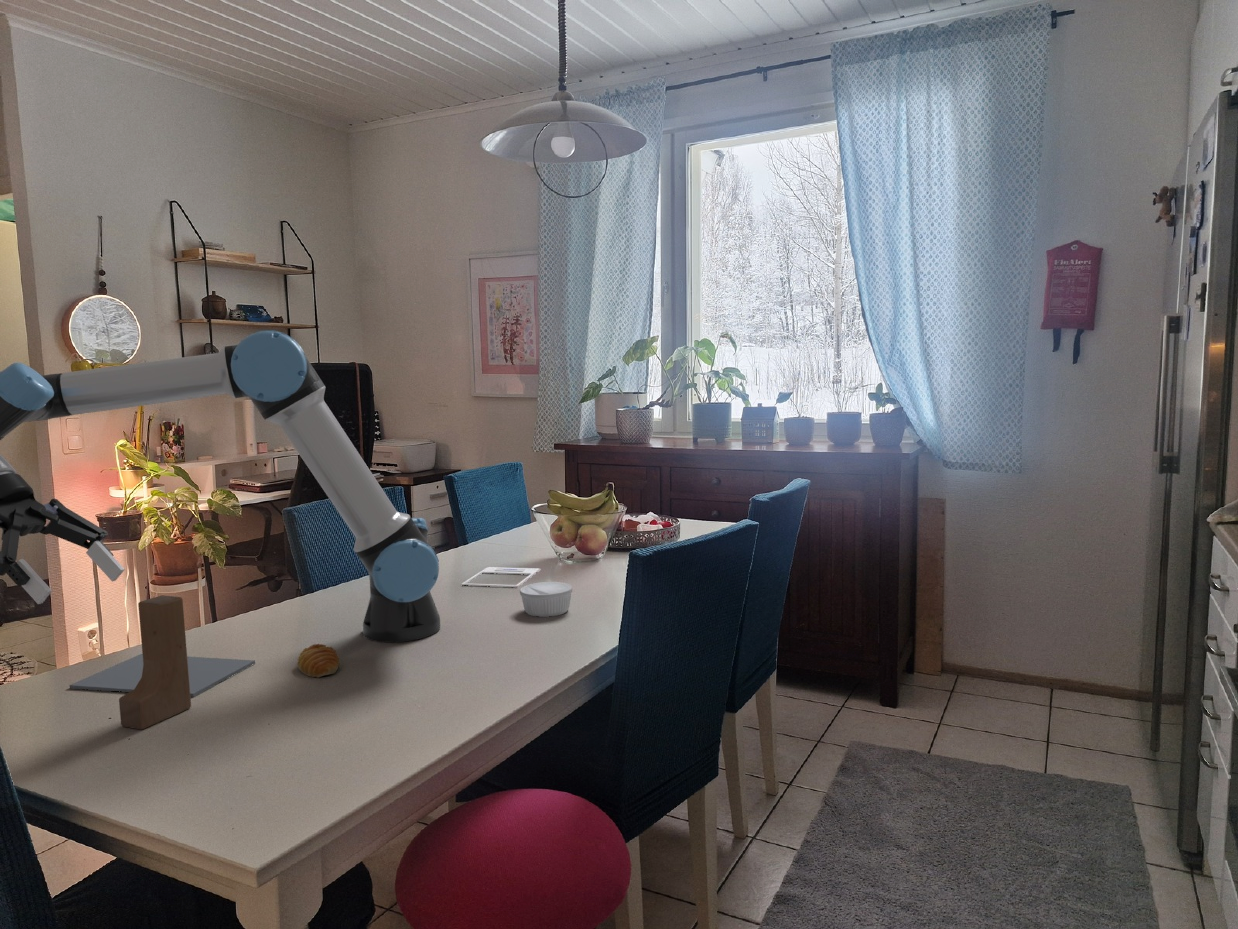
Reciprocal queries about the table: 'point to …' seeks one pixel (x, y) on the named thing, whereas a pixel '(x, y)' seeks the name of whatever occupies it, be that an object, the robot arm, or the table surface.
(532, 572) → the photo frame
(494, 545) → the table surface
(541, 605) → the ramekin
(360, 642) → the table surface
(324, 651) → the pastry
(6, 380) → the robot arm
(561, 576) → the table surface
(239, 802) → the table surface
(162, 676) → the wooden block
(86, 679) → the mat
